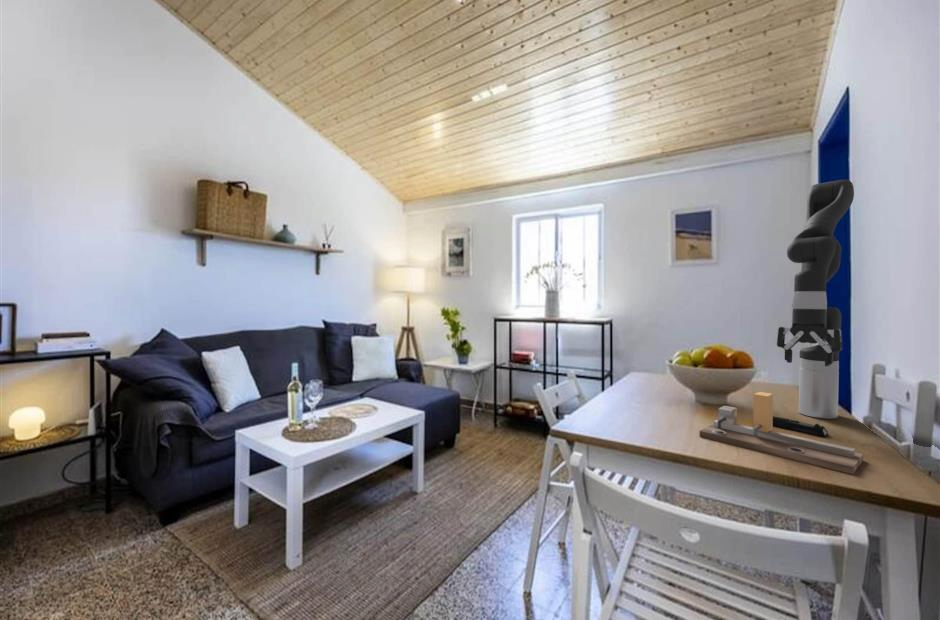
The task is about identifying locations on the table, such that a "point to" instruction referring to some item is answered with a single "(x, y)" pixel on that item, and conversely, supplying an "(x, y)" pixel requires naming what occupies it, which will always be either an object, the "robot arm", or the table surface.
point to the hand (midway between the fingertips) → (807, 364)
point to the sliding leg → (762, 412)
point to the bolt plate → (781, 443)
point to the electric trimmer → (800, 426)
